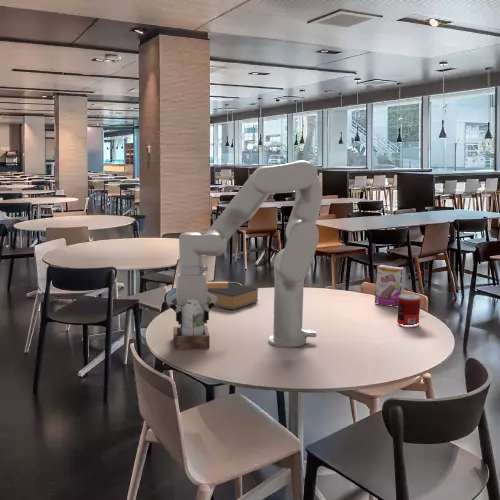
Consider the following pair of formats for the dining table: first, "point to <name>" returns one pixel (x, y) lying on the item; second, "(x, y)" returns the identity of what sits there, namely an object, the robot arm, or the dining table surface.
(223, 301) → the book
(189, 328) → the syrup box
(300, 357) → the dining table surface
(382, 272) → the candy bar box
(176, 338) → the holder
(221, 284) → the bar
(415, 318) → the canned food
